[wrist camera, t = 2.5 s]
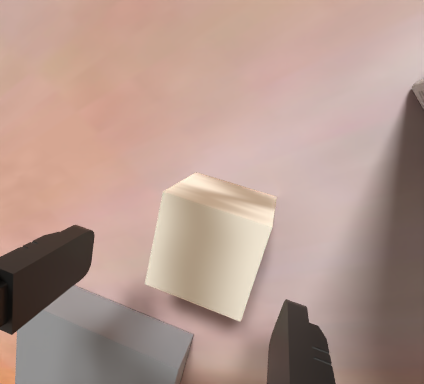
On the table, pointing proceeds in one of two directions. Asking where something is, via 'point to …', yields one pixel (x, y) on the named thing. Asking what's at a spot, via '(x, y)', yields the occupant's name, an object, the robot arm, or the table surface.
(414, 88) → the coffee box
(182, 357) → the base
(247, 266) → the wooden block
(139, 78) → the table surface
